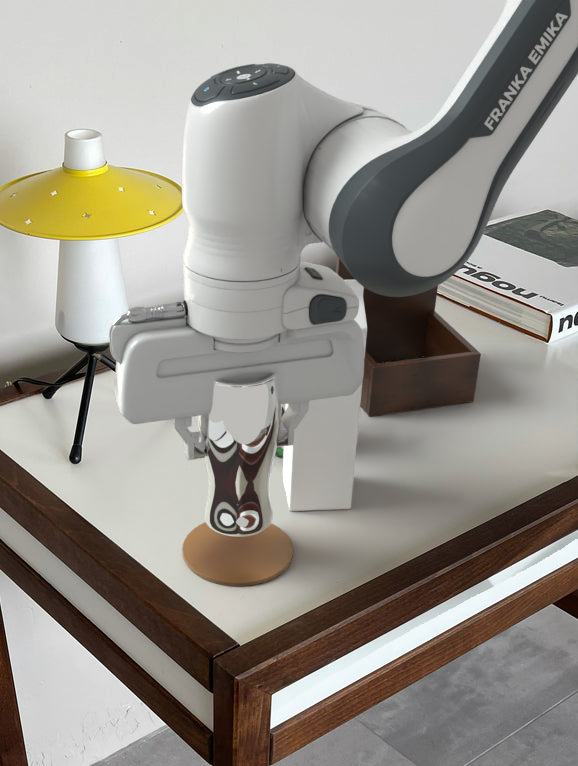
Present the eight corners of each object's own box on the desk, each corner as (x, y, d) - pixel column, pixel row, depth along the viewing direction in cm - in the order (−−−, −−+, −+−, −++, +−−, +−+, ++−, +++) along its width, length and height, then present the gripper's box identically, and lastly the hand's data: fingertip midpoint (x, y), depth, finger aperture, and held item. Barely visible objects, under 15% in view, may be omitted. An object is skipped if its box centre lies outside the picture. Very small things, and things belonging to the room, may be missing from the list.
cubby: (426, 353, 124) (440, 242, 116) (473, 402, 114) (492, 284, 106) (329, 366, 122) (336, 253, 113) (368, 416, 112) (380, 297, 103)
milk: (351, 510, 97) (372, 294, 84) (288, 512, 97) (300, 295, 84) (340, 475, 102) (359, 266, 89) (281, 477, 102) (291, 267, 89)
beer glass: (183, 517, 90) (178, 365, 81) (239, 487, 94) (240, 339, 85) (237, 551, 86) (238, 395, 77) (294, 518, 90) (301, 366, 81)
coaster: (273, 512, 97) (273, 508, 97) (308, 575, 89) (308, 572, 89) (171, 528, 95) (171, 525, 95) (197, 594, 87) (197, 591, 87)
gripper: (115, 328, 73) (125, 487, 81) (379, 297, 77) (364, 451, 85) (100, 294, 78) (111, 447, 86) (349, 267, 82) (338, 415, 90)
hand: (239, 449), depth 86 cm, fingers closed on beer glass, 6 cm apart
